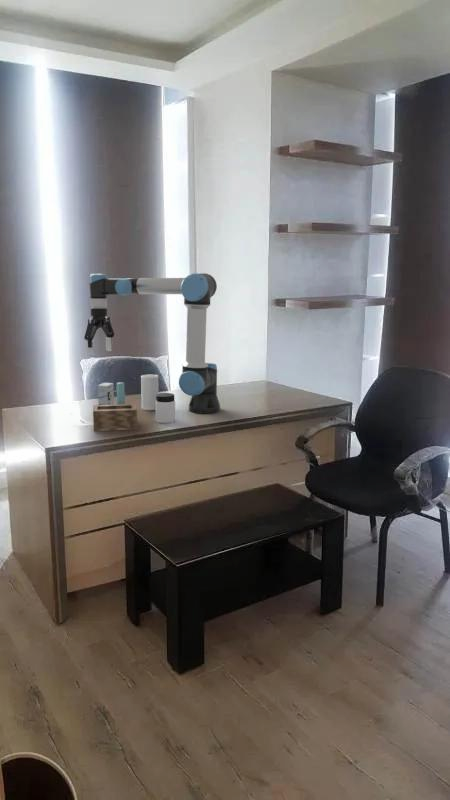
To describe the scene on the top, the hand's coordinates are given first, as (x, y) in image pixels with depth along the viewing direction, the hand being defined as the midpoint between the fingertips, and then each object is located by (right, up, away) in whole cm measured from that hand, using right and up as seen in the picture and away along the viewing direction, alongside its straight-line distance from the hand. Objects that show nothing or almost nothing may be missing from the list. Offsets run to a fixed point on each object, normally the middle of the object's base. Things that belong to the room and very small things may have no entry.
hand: (100, 352), depth 291 cm
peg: (+12, -31, -12) cm, 35 cm away
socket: (+12, -34, -28) cm, 45 cm away
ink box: (+2, -26, +7) cm, 27 cm away
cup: (+23, -27, +7) cm, 36 cm away
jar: (+33, -32, -17) cm, 49 cm away
